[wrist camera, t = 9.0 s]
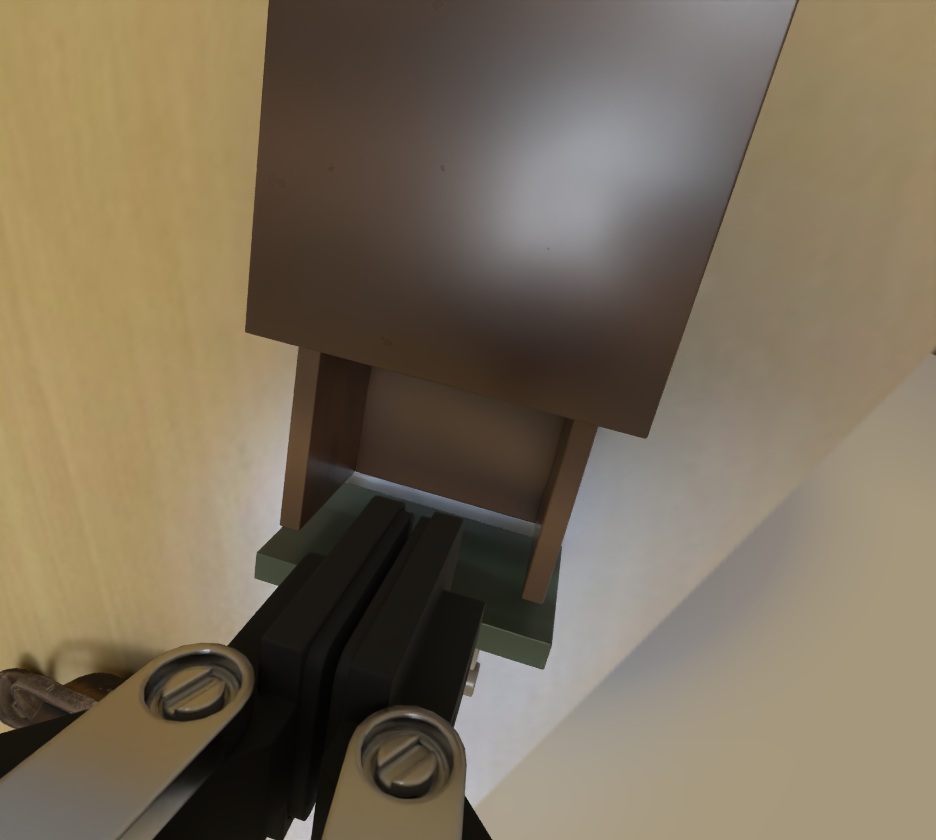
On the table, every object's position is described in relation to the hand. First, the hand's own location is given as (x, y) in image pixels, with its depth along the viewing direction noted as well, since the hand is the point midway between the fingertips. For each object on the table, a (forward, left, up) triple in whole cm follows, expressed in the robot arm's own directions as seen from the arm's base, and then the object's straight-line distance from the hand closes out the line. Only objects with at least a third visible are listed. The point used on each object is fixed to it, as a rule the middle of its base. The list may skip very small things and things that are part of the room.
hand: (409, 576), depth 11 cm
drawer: (+2, +4, -15) cm, 16 cm away
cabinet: (+2, -9, -16) cm, 19 cm away
